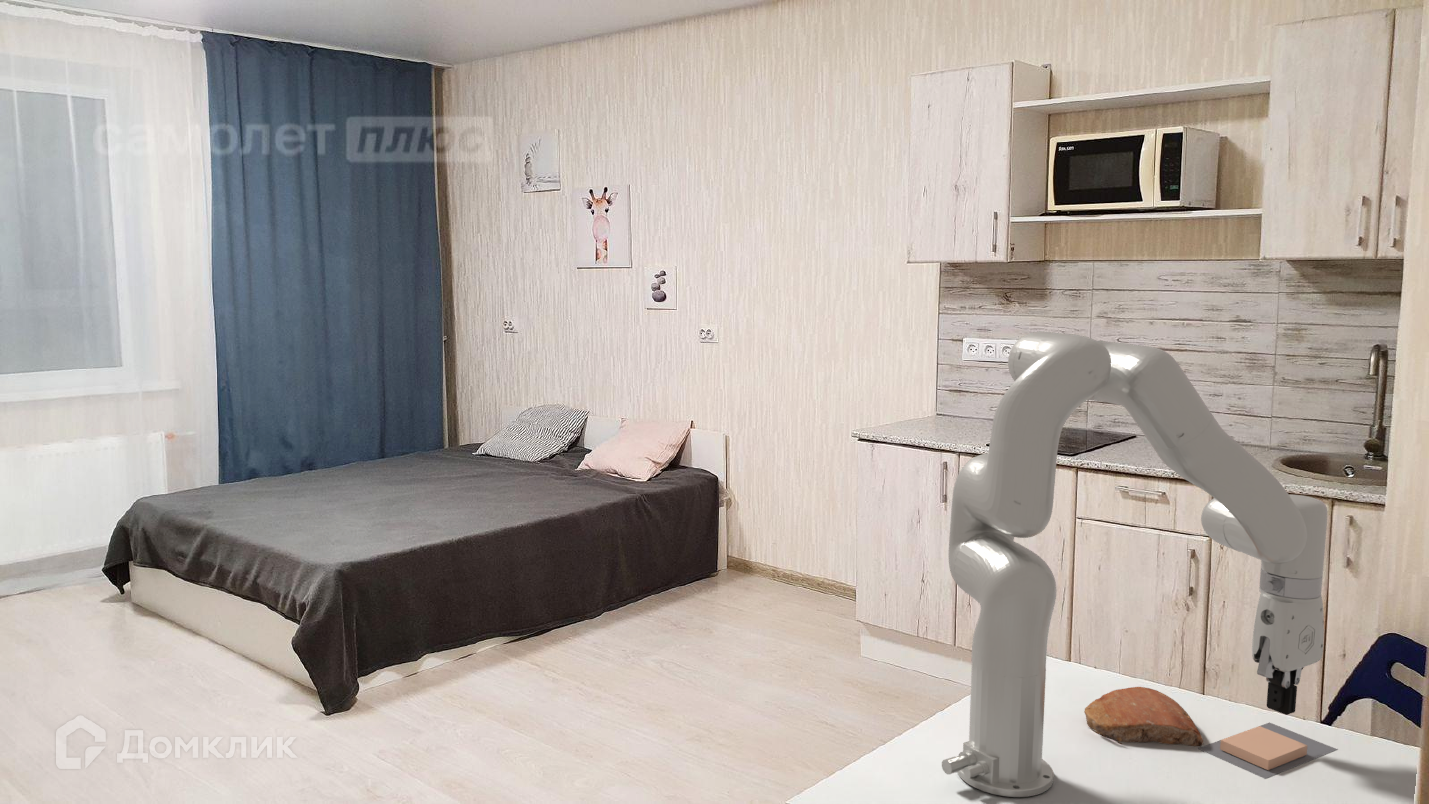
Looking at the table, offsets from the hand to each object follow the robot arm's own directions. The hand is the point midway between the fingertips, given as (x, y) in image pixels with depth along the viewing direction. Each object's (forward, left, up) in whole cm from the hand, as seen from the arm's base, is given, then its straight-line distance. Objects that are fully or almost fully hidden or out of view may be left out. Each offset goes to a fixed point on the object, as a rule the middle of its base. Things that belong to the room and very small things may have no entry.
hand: (1280, 710), depth 144 cm
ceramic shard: (-11, +15, -6) cm, 20 cm away
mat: (-2, 0, -6) cm, 6 cm away
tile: (+1, 0, -5) cm, 5 cm away
